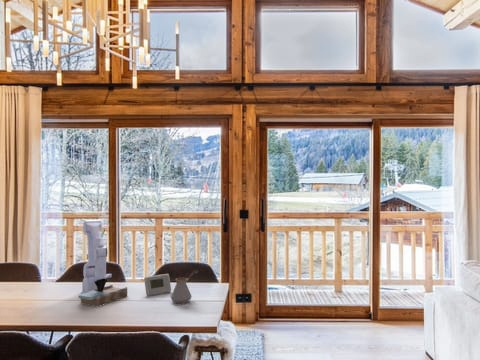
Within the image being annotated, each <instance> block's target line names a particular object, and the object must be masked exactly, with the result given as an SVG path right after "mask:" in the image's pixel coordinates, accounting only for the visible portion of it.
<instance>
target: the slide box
mask: <svg viewBox="0 0 480 360" xmlns="http://www.w3.org/2000/svg"><path fill="white" fill-rule="evenodd" d="M92 291H98V289H95V290H92ZM88 292H91V291H88ZM103 292H104V293H105V294H102V295H99V296H96V299H93V300H87V299H82V298H80V304H82V303H83V304H82V305H87V304H89V305H88V306H92V305H94V306H93V307H96V306H98V307H101V306H103V304H104V305H106V303H107V304H110V303H112V302H115V301H118V300H120V299H124V298H126V297H128V286H124V287H116V286H114V285H113V284H109V285H106V286H104V289H103ZM85 293H87V292H85ZM81 294H84V293H81ZM109 302H110V303H109ZM100 305H101V306H100Z"/></svg>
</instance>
